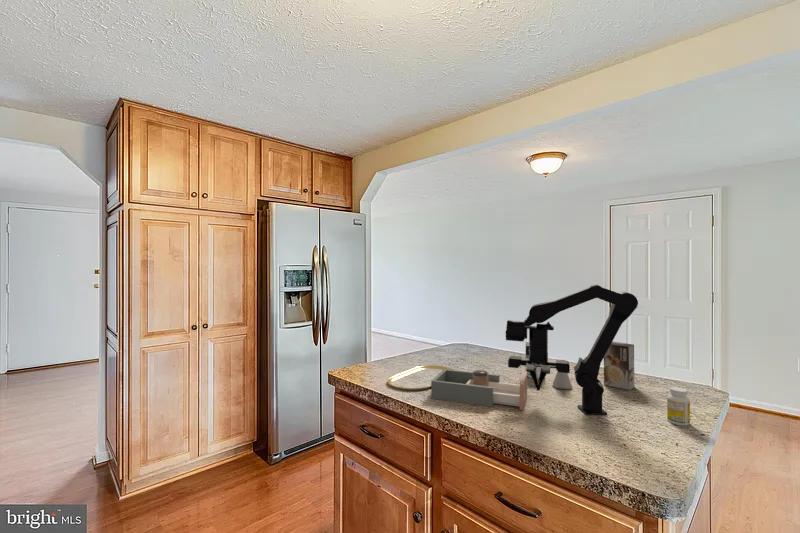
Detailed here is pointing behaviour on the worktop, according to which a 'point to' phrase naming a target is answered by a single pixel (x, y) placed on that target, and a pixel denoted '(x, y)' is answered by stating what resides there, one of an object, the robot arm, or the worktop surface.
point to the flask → (562, 381)
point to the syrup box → (532, 363)
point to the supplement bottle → (678, 407)
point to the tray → (509, 392)
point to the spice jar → (480, 378)
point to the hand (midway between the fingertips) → (538, 390)
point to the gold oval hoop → (413, 372)
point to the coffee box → (619, 366)
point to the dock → (461, 388)
